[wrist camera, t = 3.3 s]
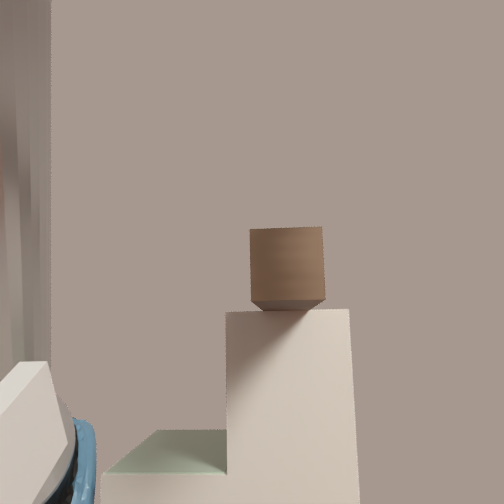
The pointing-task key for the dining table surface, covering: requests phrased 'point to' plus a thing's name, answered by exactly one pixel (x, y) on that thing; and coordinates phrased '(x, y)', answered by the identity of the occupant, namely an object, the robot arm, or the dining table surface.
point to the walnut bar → (287, 268)
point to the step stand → (261, 423)
